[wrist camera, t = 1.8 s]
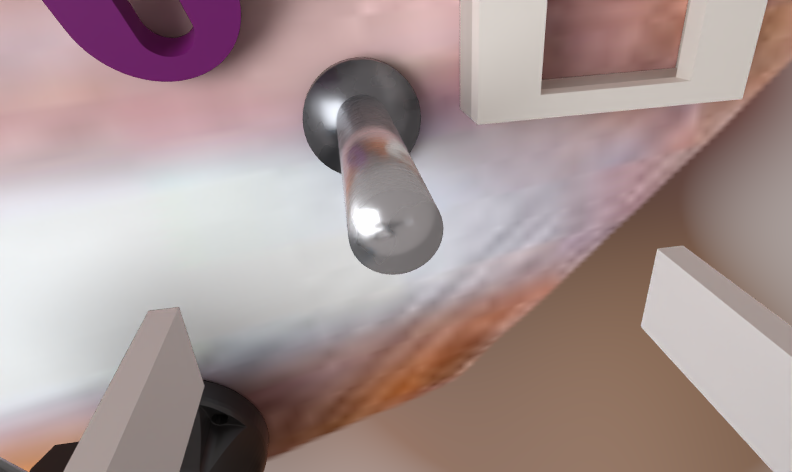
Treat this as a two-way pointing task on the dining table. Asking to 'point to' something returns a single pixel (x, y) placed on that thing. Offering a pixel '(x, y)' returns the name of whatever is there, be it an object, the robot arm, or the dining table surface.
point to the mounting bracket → (151, 37)
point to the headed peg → (374, 162)
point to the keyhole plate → (536, 99)
